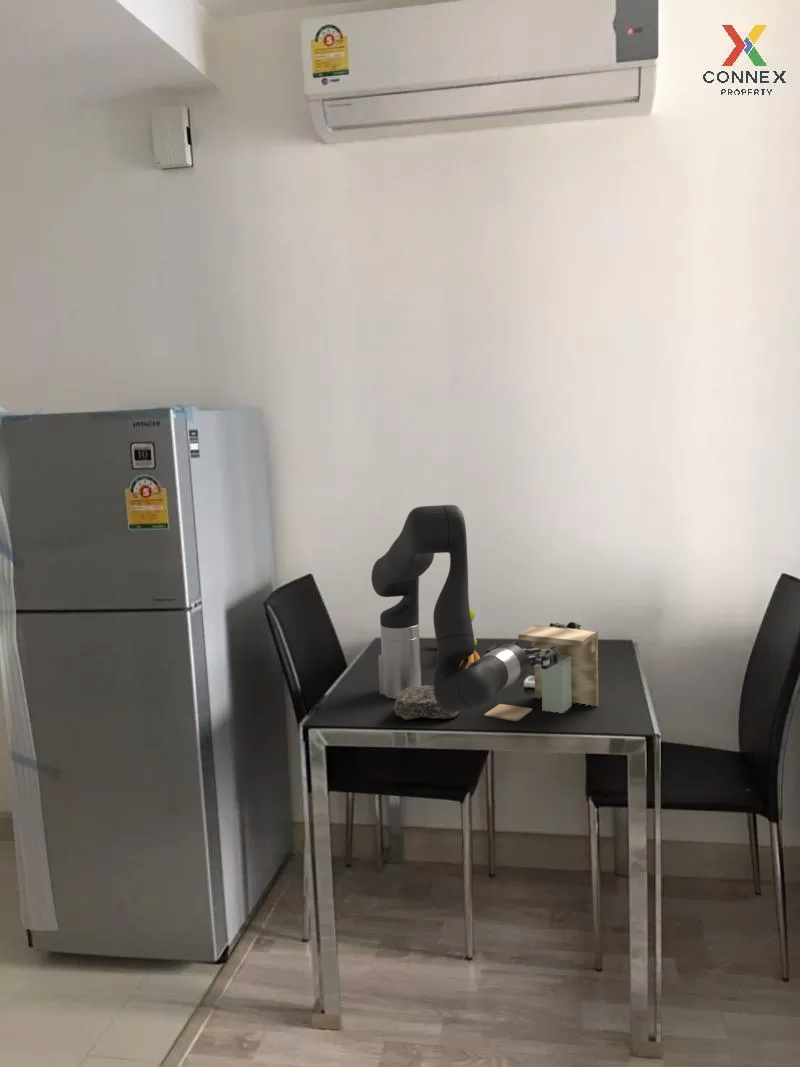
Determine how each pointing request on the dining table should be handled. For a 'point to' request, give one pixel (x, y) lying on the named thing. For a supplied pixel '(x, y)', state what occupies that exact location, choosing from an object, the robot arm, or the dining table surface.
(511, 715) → the mat
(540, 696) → the shelf
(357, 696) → the dining table surface
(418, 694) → the rock
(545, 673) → the tin
